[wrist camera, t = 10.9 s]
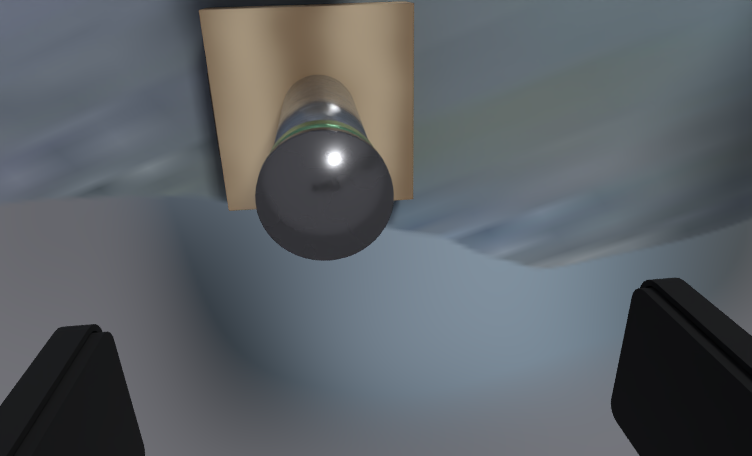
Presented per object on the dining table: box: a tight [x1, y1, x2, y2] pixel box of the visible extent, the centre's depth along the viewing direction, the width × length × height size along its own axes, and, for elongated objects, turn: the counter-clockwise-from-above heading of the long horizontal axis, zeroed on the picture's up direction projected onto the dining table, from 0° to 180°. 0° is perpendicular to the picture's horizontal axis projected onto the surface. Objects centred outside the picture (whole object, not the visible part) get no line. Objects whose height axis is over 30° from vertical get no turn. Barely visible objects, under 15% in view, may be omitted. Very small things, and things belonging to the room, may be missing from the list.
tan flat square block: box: [199, 2, 414, 211], centre depth 34 cm, size 12×12×3 cm
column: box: [255, 75, 394, 260], centre depth 26 cm, size 5×5×15 cm
